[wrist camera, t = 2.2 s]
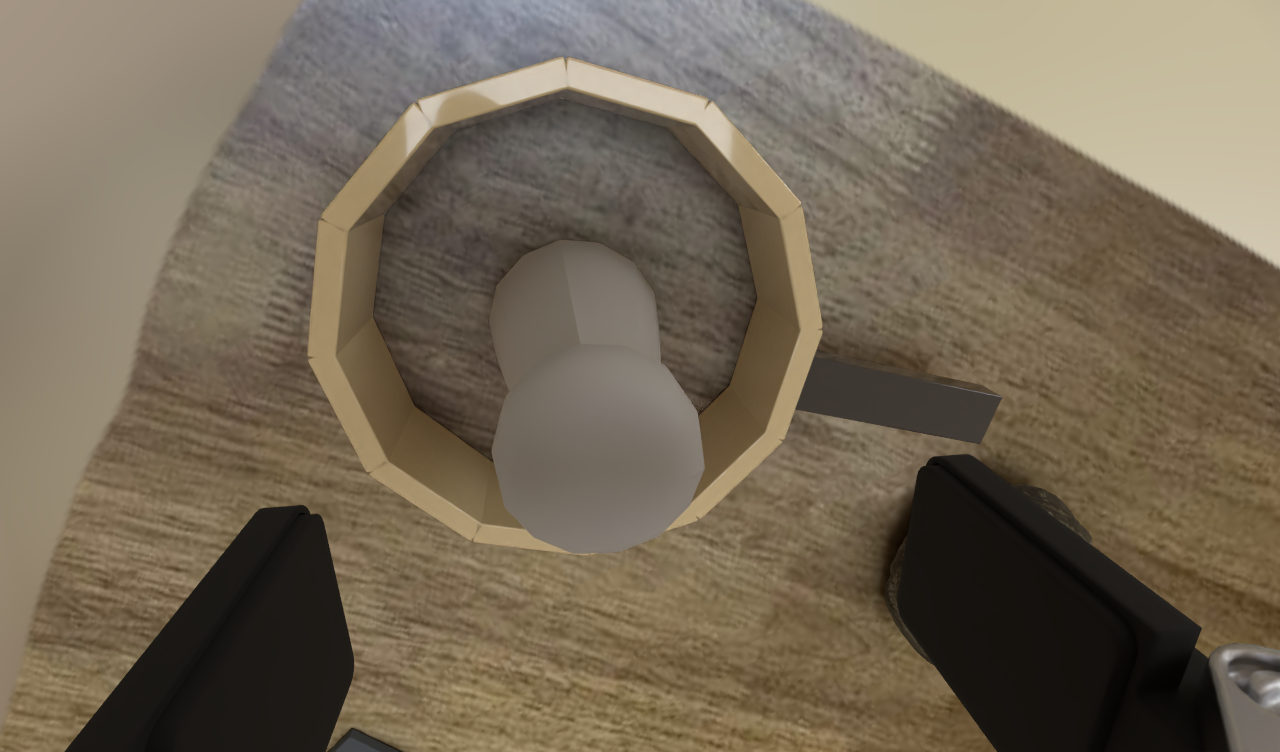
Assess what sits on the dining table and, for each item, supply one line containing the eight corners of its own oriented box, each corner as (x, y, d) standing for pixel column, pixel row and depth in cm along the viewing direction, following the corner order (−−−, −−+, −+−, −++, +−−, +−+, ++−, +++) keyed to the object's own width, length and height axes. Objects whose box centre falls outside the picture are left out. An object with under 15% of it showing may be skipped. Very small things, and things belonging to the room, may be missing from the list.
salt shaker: (578, 405, 25) (610, 651, 13) (462, 314, 23) (376, 507, 11) (678, 299, 24) (812, 461, 12) (566, 194, 22) (594, 265, 10)
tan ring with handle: (262, 321, 22) (197, 364, 18) (575, -58, 20) (584, -109, 15) (682, 617, 30) (705, 695, 26) (950, 374, 27) (1023, 417, 23)
